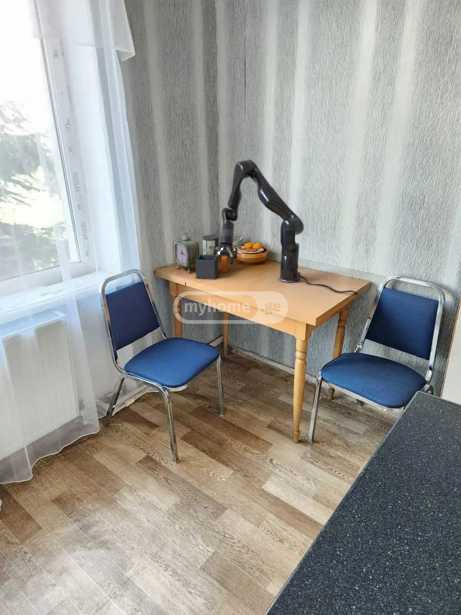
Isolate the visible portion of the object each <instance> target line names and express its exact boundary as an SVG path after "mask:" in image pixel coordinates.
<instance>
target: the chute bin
mask: <svg viewBox="0 0 461 615" xmlns="http://www.w3.org/2000/svg"><path fill="white" fill-rule="evenodd" d="M218 275H219V260H218V255H203V254H199V256H198V257H197V259H196V264H195V278H196V279H198V280H199V279H200V280H216V278H217V276H218Z"/></svg>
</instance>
